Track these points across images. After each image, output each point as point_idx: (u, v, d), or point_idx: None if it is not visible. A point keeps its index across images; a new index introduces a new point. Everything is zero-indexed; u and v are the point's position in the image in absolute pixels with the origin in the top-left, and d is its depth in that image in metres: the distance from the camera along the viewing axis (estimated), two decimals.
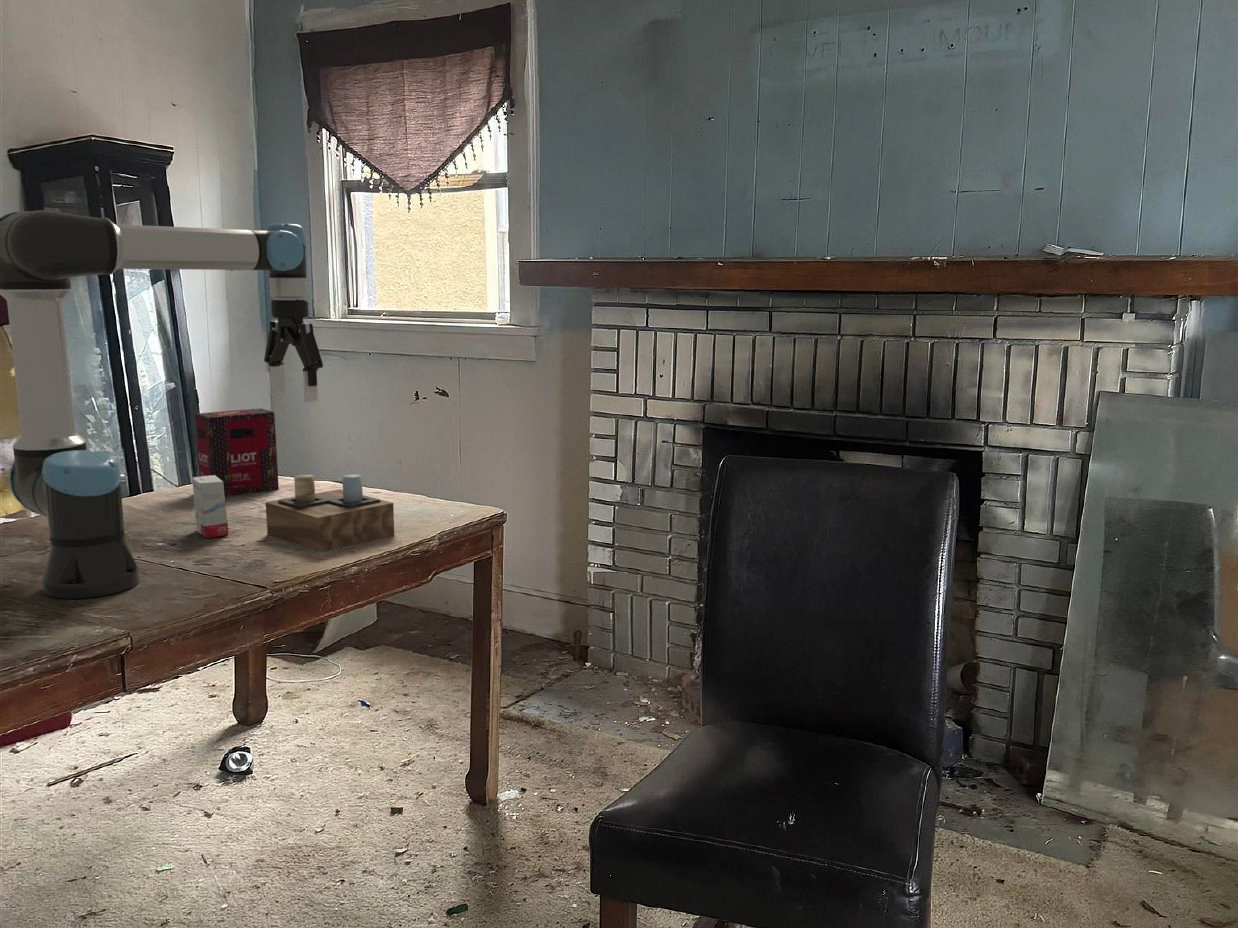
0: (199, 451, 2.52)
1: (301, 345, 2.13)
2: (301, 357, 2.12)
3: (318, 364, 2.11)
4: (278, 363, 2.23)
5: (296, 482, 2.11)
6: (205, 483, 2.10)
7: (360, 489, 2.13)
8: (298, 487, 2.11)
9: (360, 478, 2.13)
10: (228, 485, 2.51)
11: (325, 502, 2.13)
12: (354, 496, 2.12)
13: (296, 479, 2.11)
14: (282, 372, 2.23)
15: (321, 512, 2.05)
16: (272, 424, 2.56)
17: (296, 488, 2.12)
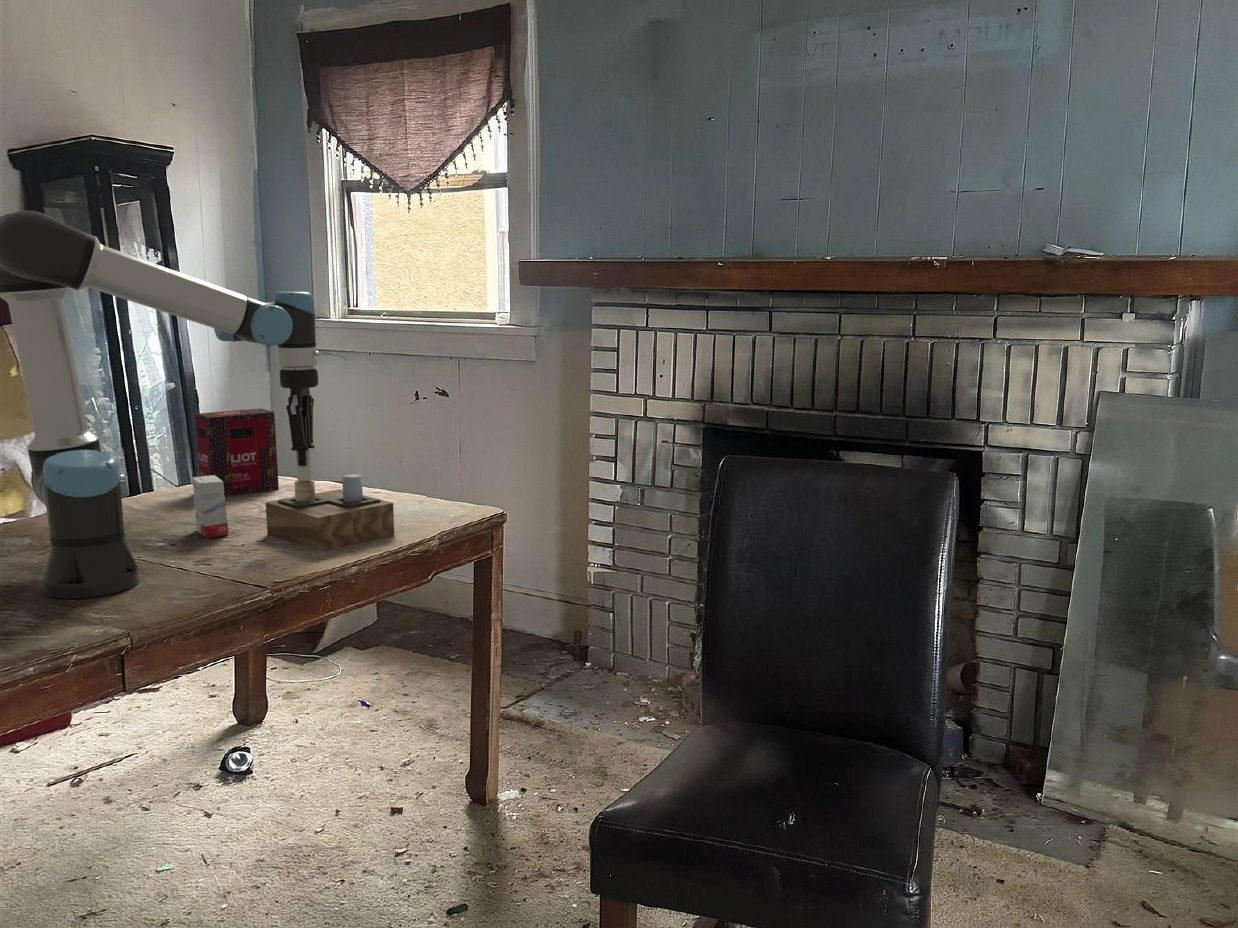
0: (199, 451, 2.52)
1: None
2: None
3: (299, 447, 2.08)
4: None
5: (296, 487, 2.11)
6: (205, 483, 2.10)
7: (360, 489, 2.13)
8: (298, 491, 2.11)
9: (360, 478, 2.13)
10: (228, 485, 2.51)
11: (325, 502, 2.13)
12: (354, 496, 2.12)
13: (296, 484, 2.11)
14: None
15: (321, 512, 2.05)
16: (272, 424, 2.56)
17: (296, 493, 2.12)
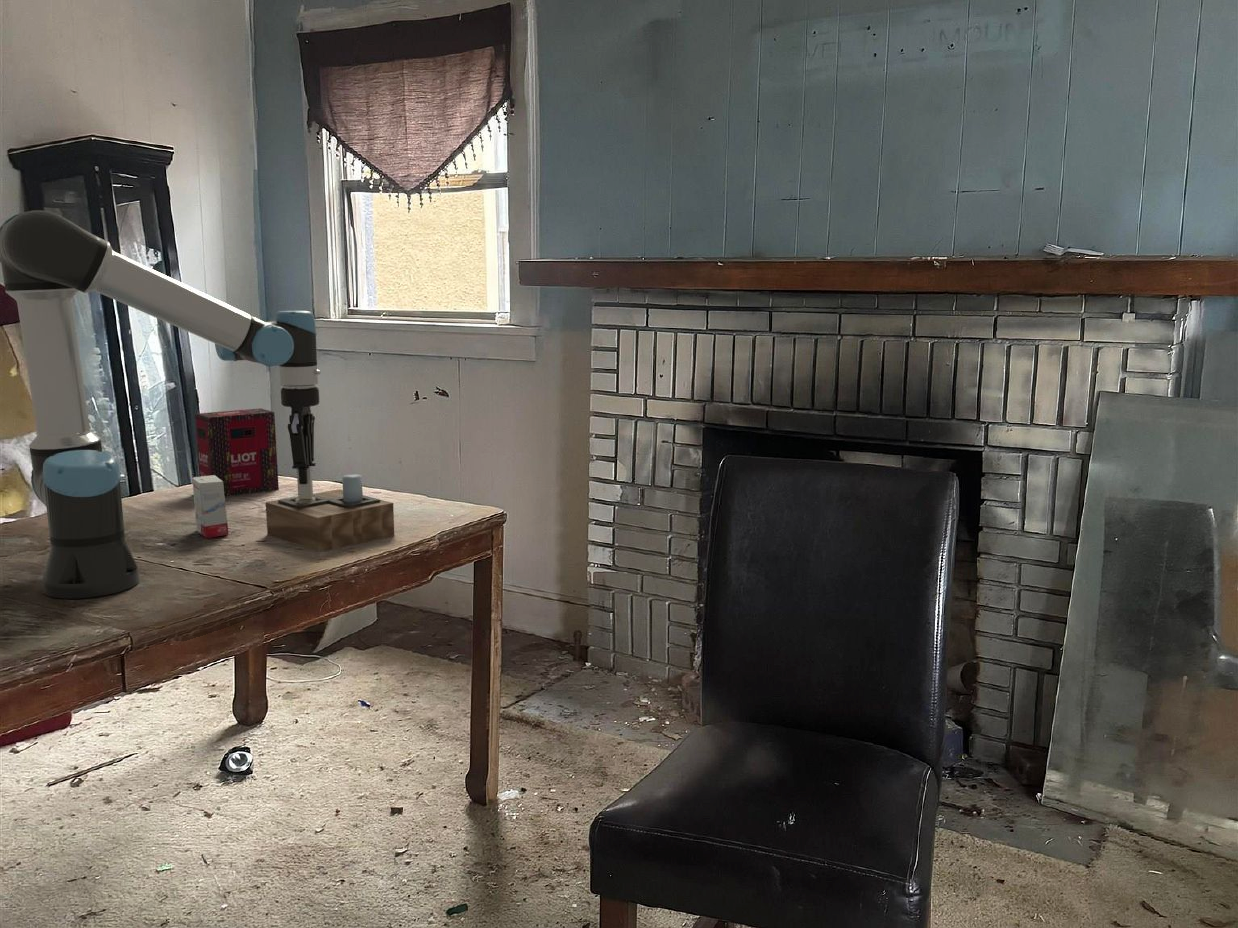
0: (199, 451, 2.52)
1: None
2: None
3: (300, 465, 2.09)
4: None
5: None
6: (205, 483, 2.10)
7: (360, 489, 2.13)
8: None
9: (360, 478, 2.13)
10: (228, 485, 2.51)
11: (325, 502, 2.13)
12: (354, 496, 2.12)
13: (297, 502, 2.12)
14: None
15: (321, 512, 2.05)
16: (272, 424, 2.56)
17: None
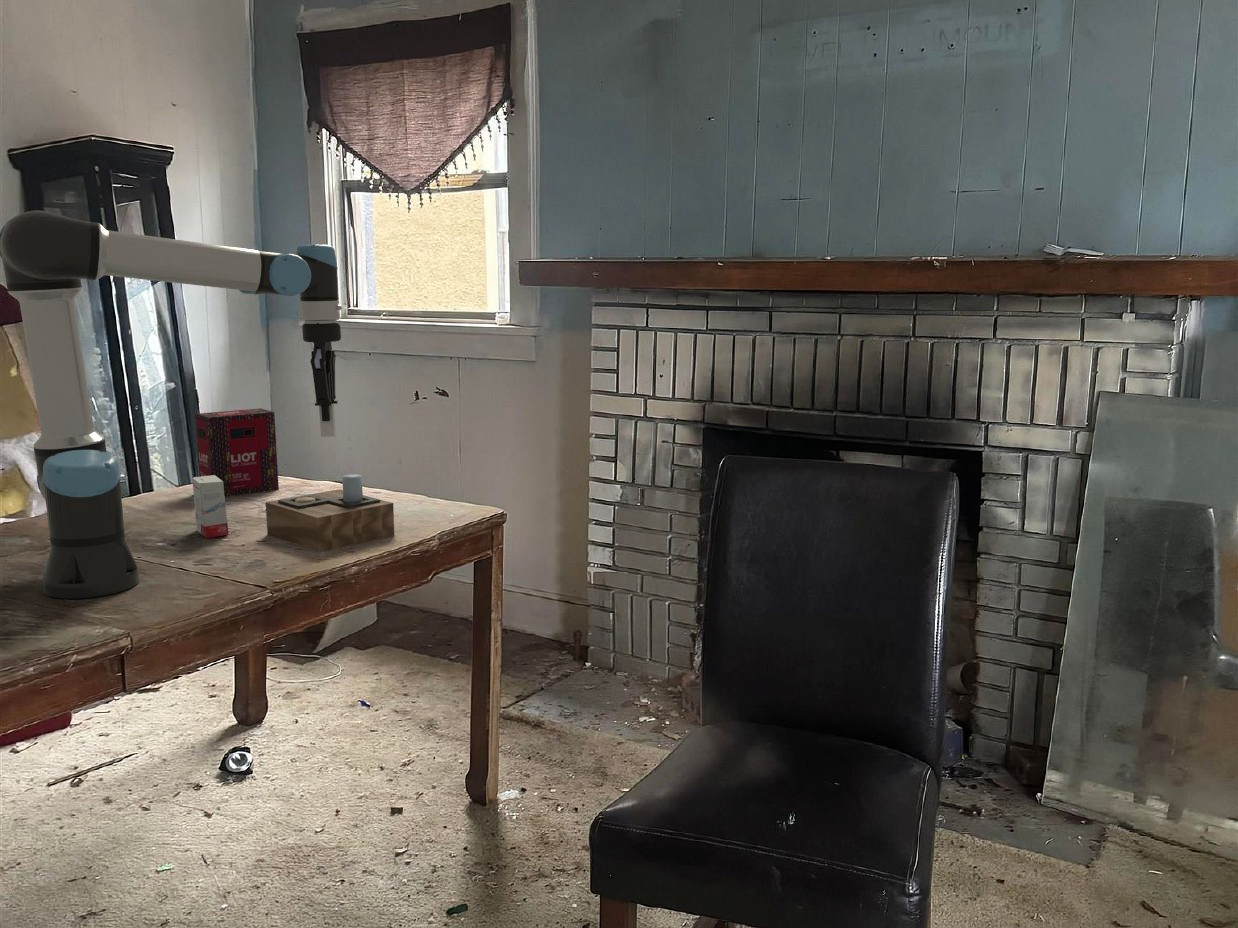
0: (199, 451, 2.52)
1: None
2: None
3: (323, 402, 2.07)
4: None
5: None
6: (205, 483, 2.10)
7: (360, 489, 2.13)
8: None
9: (360, 478, 2.13)
10: (228, 485, 2.51)
11: (325, 502, 2.13)
12: (354, 496, 2.12)
13: (297, 502, 2.12)
14: None
15: (321, 512, 2.05)
16: (272, 424, 2.56)
17: None
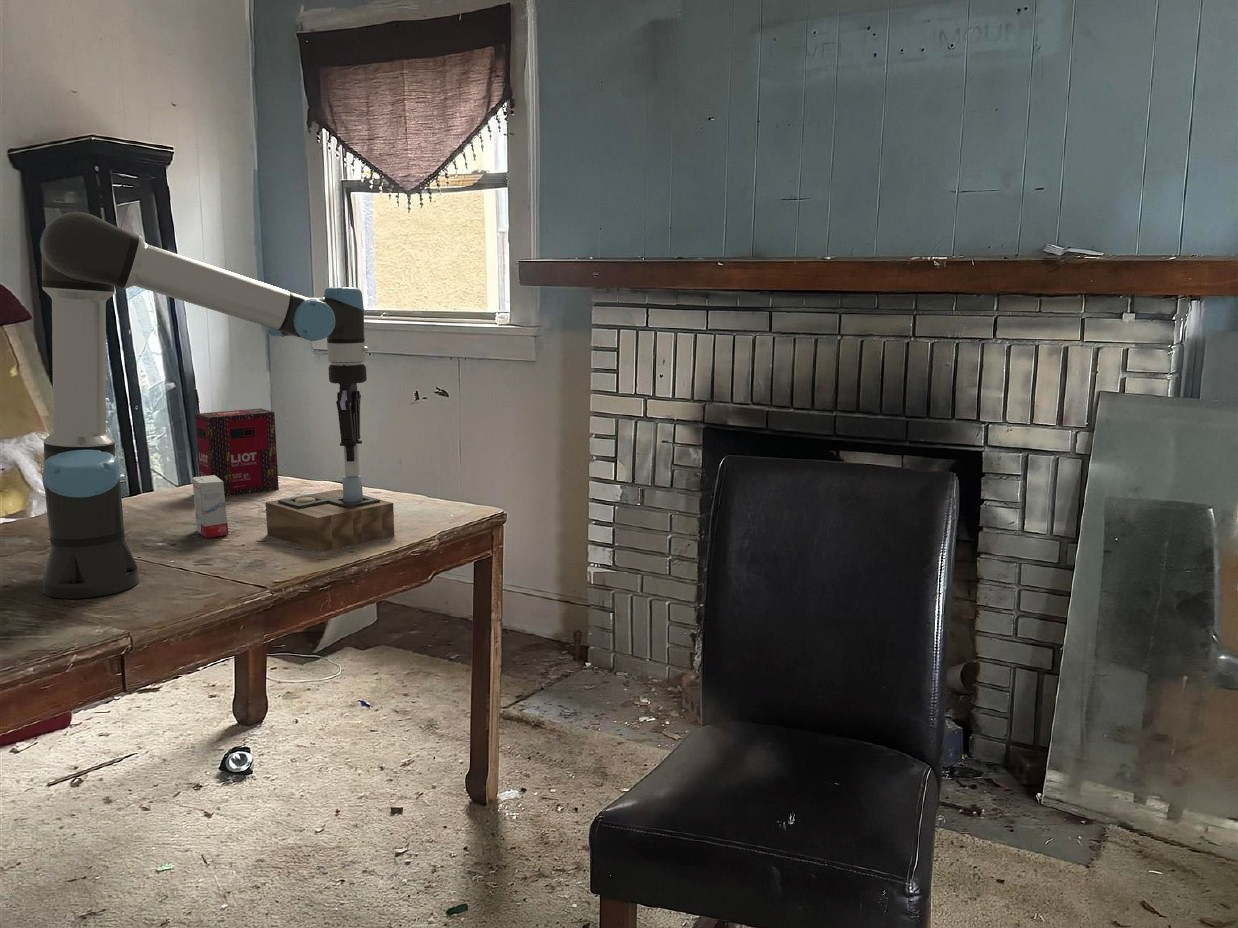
0: (199, 451, 2.52)
1: None
2: None
3: (348, 442, 2.08)
4: None
5: None
6: (205, 483, 2.10)
7: (360, 489, 2.13)
8: None
9: (360, 478, 2.13)
10: (228, 485, 2.51)
11: (325, 502, 2.13)
12: (354, 497, 2.12)
13: (297, 502, 2.12)
14: None
15: (321, 512, 2.05)
16: (272, 424, 2.56)
17: None
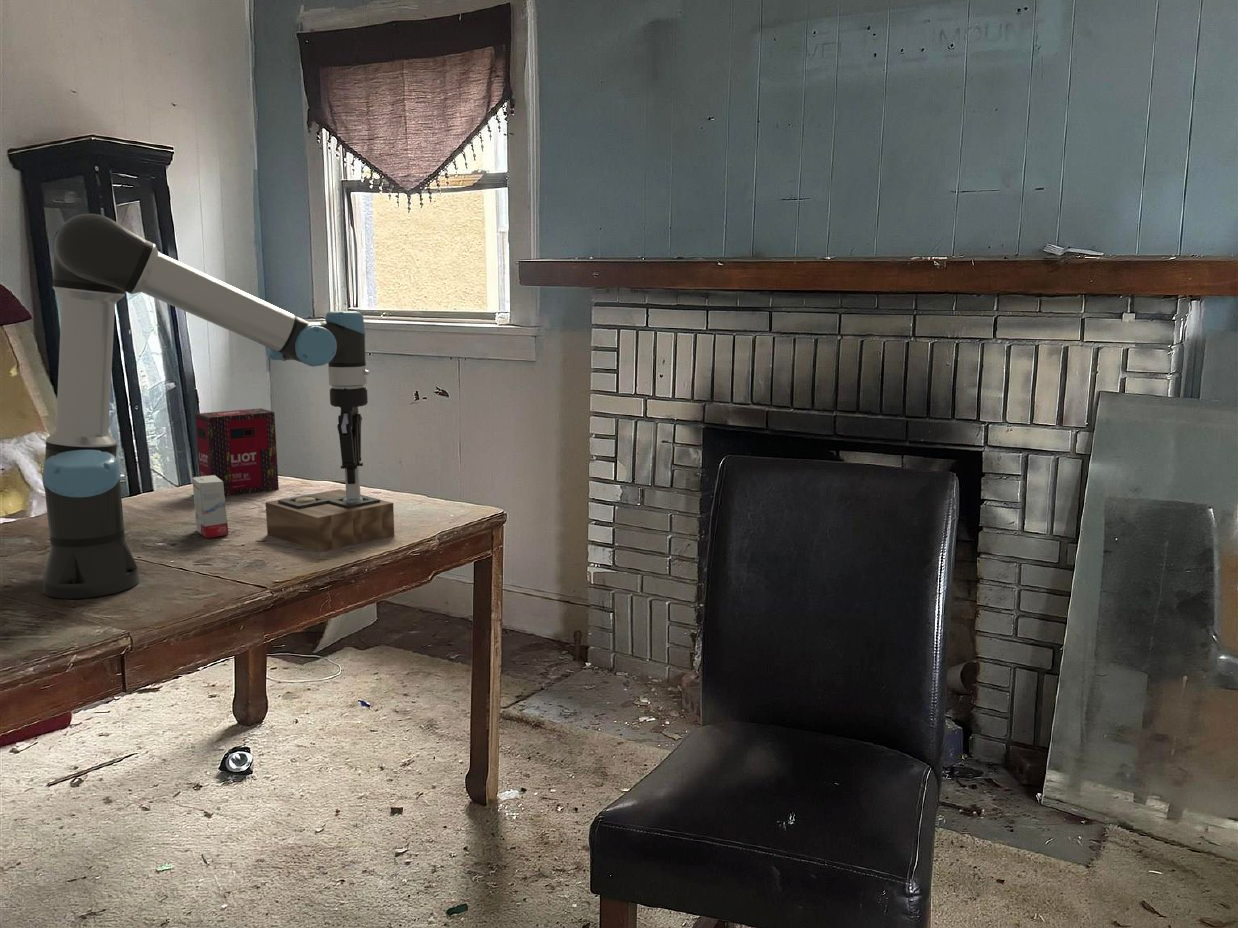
0: (199, 451, 2.52)
1: None
2: None
3: (349, 465, 2.09)
4: None
5: None
6: (205, 483, 2.10)
7: None
8: None
9: None
10: (228, 485, 2.51)
11: (325, 502, 2.13)
12: None
13: (297, 502, 2.12)
14: None
15: (321, 512, 2.05)
16: (272, 424, 2.56)
17: None
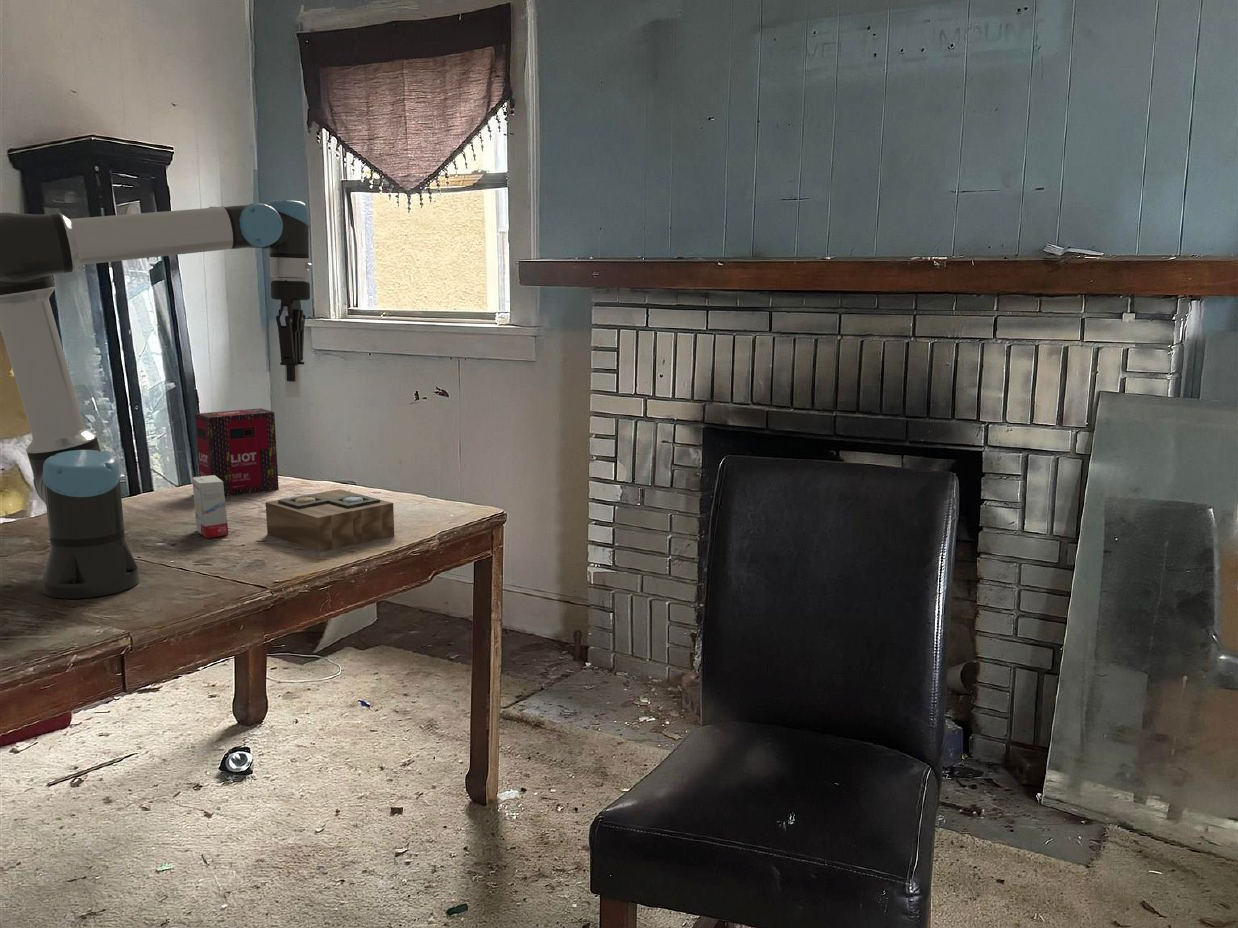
0: (199, 451, 2.52)
1: None
2: None
3: (288, 361, 2.03)
4: None
5: None
6: (205, 483, 2.10)
7: None
8: None
9: None
10: (228, 485, 2.51)
11: (325, 502, 2.13)
12: None
13: (297, 502, 2.12)
14: None
15: (321, 512, 2.05)
16: (272, 424, 2.56)
17: None
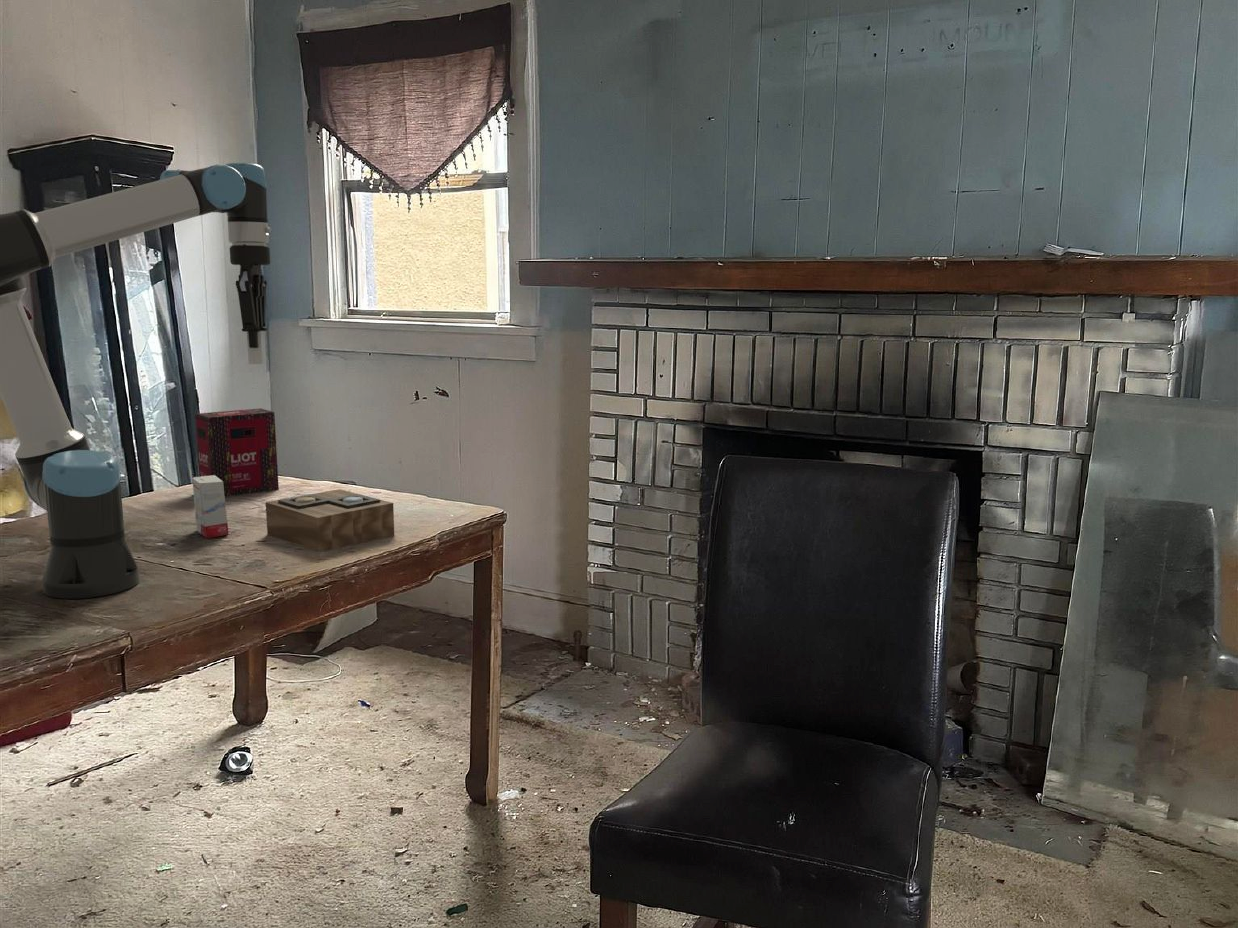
0: (199, 451, 2.52)
1: None
2: None
3: (250, 326, 2.01)
4: None
5: None
6: (205, 483, 2.10)
7: None
8: None
9: None
10: (228, 485, 2.51)
11: (325, 502, 2.13)
12: None
13: (297, 502, 2.12)
14: None
15: (321, 512, 2.05)
16: (272, 424, 2.56)
17: None
